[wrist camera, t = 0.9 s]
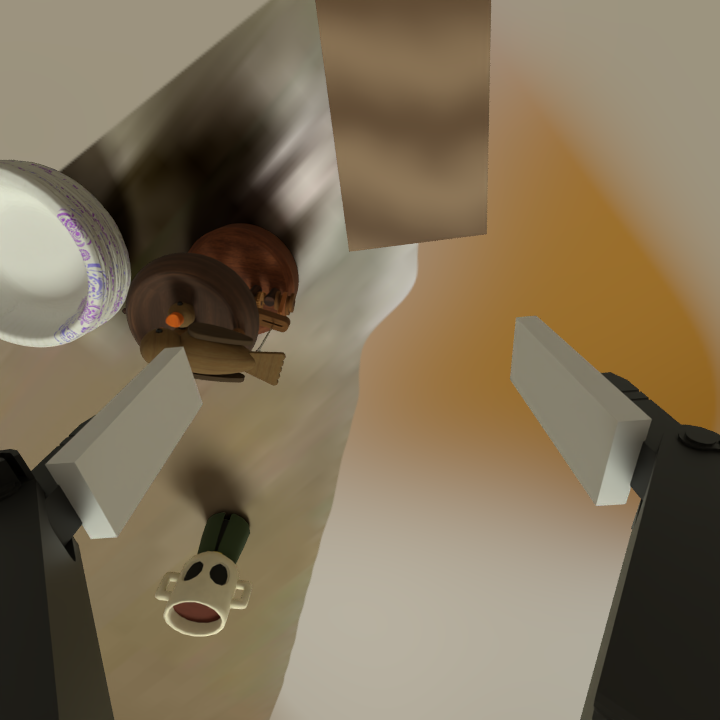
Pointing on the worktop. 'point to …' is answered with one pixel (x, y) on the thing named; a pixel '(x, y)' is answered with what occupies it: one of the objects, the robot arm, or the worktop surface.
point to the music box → (217, 303)
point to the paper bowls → (56, 258)
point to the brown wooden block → (409, 116)
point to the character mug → (208, 580)
